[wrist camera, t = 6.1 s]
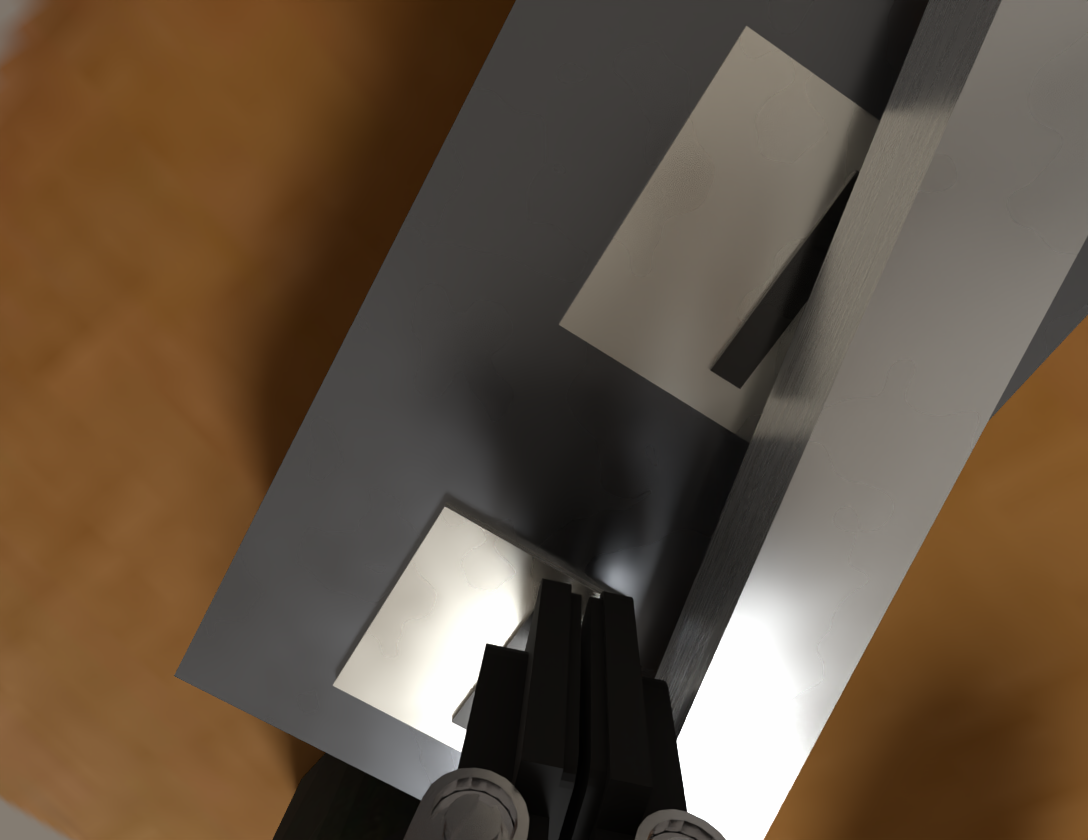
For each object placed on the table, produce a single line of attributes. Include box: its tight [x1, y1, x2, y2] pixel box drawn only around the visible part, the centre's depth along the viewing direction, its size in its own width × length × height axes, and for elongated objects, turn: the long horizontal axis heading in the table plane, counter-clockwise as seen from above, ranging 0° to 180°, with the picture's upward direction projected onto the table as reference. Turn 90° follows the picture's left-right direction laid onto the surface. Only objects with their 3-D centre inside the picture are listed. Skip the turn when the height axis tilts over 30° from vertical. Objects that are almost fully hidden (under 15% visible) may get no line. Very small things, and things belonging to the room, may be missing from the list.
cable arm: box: [655, 0, 1088, 840], centre depth 10 cm, size 20×3×2 cm, turn 165°
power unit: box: [174, 0, 1088, 800], centre depth 14 cm, size 21×10×5 cm, turn 149°
